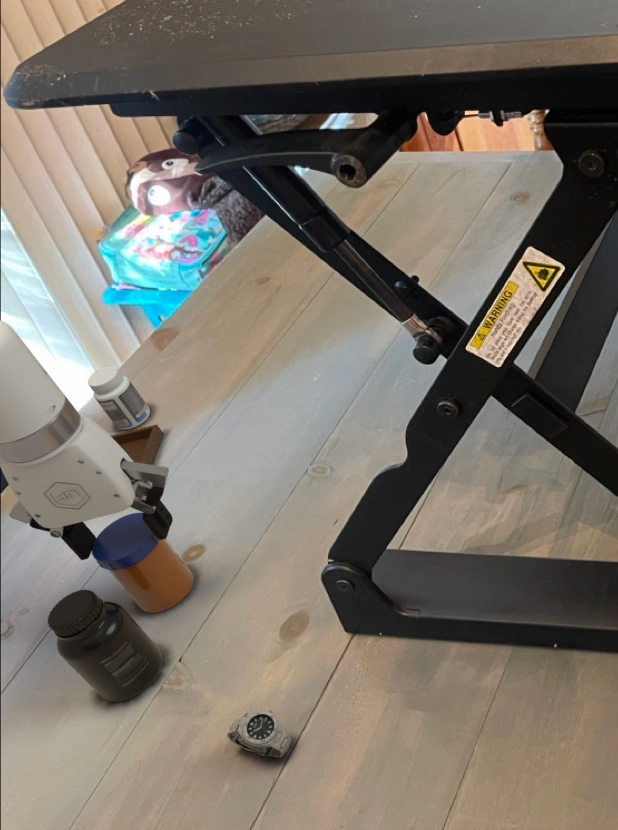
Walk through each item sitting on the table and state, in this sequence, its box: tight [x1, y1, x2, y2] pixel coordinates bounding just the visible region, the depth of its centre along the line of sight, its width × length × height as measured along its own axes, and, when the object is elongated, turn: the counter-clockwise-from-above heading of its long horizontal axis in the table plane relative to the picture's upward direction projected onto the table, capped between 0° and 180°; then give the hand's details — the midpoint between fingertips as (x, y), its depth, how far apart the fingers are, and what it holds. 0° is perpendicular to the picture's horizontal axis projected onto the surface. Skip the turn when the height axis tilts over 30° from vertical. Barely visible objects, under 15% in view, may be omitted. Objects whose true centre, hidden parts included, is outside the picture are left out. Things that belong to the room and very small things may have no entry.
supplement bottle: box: [47, 588, 164, 702], centre depth 110 cm, size 7×7×12 cm
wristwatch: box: [226, 710, 292, 759], centre depth 103 cm, size 4×6×5 cm, turn 74°
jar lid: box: [91, 512, 160, 571], centre depth 117 cm, size 7×7×2 cm
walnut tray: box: [110, 424, 164, 499], centre depth 140 cm, size 11×12×2 cm
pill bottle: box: [87, 365, 151, 431], centre depth 147 cm, size 5×5×8 cm
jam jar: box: [108, 538, 194, 614], centre depth 120 cm, size 6×6×9 cm
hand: (127, 539), depth 117 cm, fingers open, 8 cm apart
